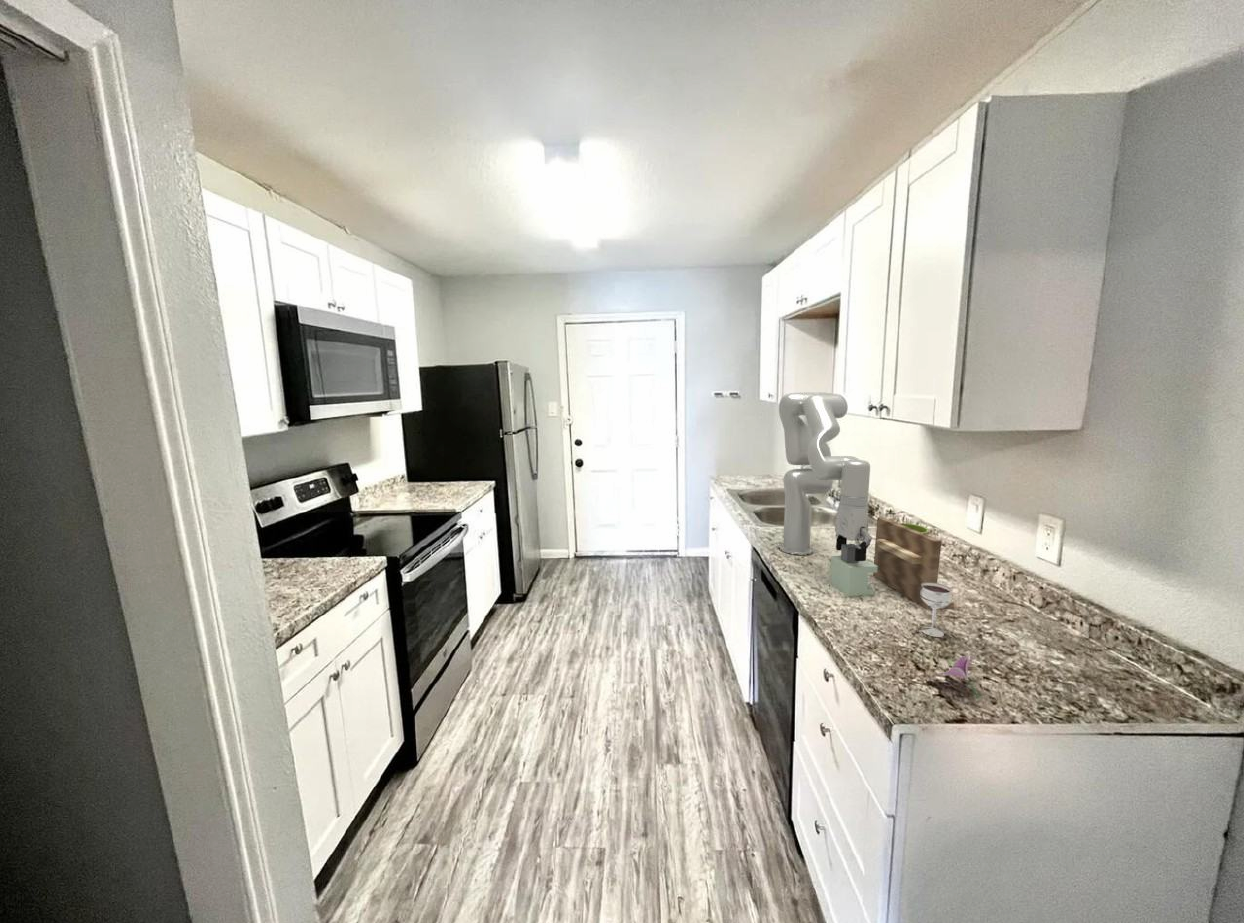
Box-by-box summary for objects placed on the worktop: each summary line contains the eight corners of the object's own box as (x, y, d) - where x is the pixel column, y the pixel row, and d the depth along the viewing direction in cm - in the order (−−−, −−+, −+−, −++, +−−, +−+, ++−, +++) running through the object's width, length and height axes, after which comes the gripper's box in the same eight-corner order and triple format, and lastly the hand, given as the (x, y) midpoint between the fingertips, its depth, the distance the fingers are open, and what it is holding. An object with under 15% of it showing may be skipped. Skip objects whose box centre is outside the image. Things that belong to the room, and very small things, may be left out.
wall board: (865, 576, 154) (870, 517, 151) (895, 574, 155) (900, 516, 152) (919, 610, 131) (926, 541, 128) (953, 607, 132) (961, 539, 129)
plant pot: (880, 554, 174) (883, 525, 172) (901, 549, 179) (904, 521, 177) (911, 565, 163) (914, 534, 161) (933, 559, 168) (936, 529, 166)
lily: (980, 681, 101) (958, 637, 103) (1021, 695, 89) (995, 644, 92) (928, 700, 101) (907, 654, 103) (963, 715, 89) (938, 664, 92)
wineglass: (933, 640, 115) (938, 594, 113) (910, 627, 122) (914, 583, 120) (954, 636, 117) (959, 591, 115) (930, 623, 123) (935, 580, 122)
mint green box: (829, 582, 150) (832, 540, 147) (855, 581, 151) (858, 539, 148) (848, 596, 140) (851, 551, 138) (875, 594, 141) (878, 550, 139)
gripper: (826, 495, 149) (823, 546, 151) (859, 508, 132) (856, 566, 134) (848, 494, 150) (845, 545, 152) (884, 507, 133) (880, 564, 135)
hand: (850, 555), depth 143 cm, fingers open, 9 cm apart
